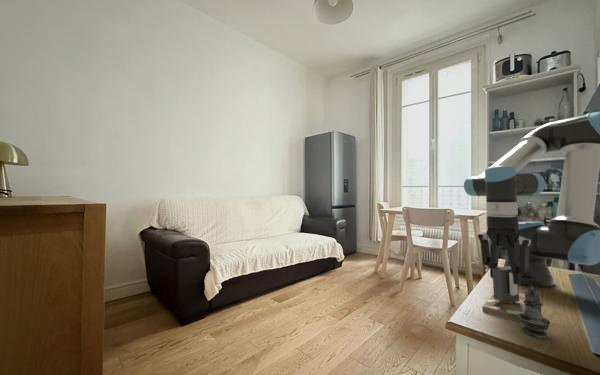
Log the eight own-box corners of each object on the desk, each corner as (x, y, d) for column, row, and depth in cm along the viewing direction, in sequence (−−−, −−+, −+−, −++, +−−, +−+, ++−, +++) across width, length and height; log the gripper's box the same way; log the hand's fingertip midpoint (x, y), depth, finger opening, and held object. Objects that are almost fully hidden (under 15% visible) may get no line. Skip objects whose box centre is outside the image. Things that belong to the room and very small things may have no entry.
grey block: (509, 298, 78) (508, 265, 78) (519, 302, 75) (517, 268, 75) (483, 302, 75) (482, 269, 76) (492, 306, 73) (491, 271, 73)
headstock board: (498, 292, 86) (498, 288, 86) (538, 301, 79) (537, 296, 79) (482, 311, 74) (482, 306, 74) (527, 324, 66) (527, 318, 66)
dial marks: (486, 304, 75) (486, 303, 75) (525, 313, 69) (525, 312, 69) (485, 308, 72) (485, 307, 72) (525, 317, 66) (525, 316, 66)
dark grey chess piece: (553, 334, 61) (550, 285, 61) (548, 342, 58) (545, 291, 58) (522, 324, 66) (520, 279, 66) (515, 331, 63) (513, 284, 63)
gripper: (466, 214, 82) (470, 285, 81) (530, 218, 67) (534, 305, 67) (479, 213, 85) (482, 281, 85) (542, 216, 71) (547, 299, 70)
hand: (505, 291), depth 76 cm, fingers closed on grey block, 3 cm apart
